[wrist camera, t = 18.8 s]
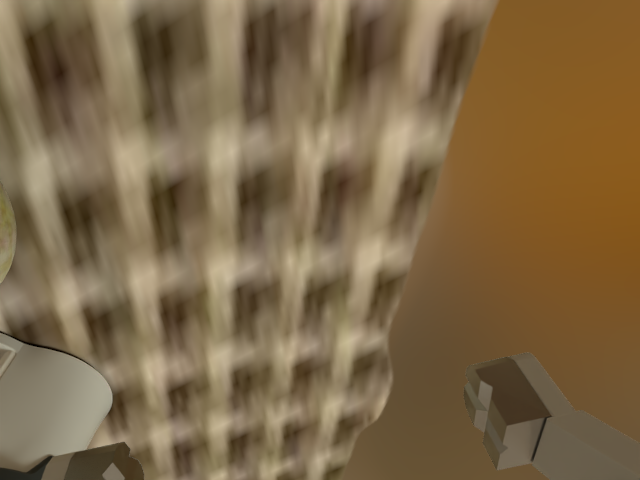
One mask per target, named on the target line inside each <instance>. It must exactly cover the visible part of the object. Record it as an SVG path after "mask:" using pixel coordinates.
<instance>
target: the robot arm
mask: <svg viewBox="0 0 640 480" xmlns="http://www.w3.org/2000/svg"><path fill="white" fill-rule="evenodd" d="M466 377H467V379H468V381H469V382H468V383H467V384H466V386H465V387H464V400H465V405H466V409H467V411H468V414H469V416H470V418H471V420H472V423H473V425H474V426H476V427H477V428H479V429H480V430H481V431H483V432H484V438H483V445H484V446H485V448H486V450H487V452H488V454H489V456H490V458H491V460H492V462H493V464H494V466H495V468H496V470H500V469H505V468H510V467H515V466H519V465H524V464H529V463H532V465H533V466H534V467H535V468H536V469H537V470H539V471H540V472H542V474H544V475H545V476H546V477H547V478H549V479H550V480H640V443H638V442H637V441H635V440H633V439H631V438H630V437H628V436H626V435H624V434H623V433H621V432H619V431H617V430H615V429H614V428H612V427H610V426H609V425H607V424H605V423H604V422H602V421H600V420H598V419H596V418H595V417H593V416H591V415H590V414H588V413H586V412H584V411H582V410H580V411H575V410H574V408H573V407H572V406H571V404H570V403H569V402H568V400H567V399H566V398H565V396H564V395H563V394H562V392H561V391H560V390H559V388H558V387H557V386H556V384H555V383H554V382H553V380H552V379H551V378H550V376H549V375H548V374H547V372H546V371H545V370H544V368H543V367H542V366H541V364H540V363H539V362H538V360H537V359H536V358H535V356H534V355H532V354H531V353H523V354H519V355H515V356H510V357H504V358H499V359H495V360H491V361H486V362H482V363H478V364H474V365H470V366H468V367H467V369H466ZM111 405H112V392H111V389H110V387H109V385H108V383H107V381H106V380H105V379H104V377H103V376H102V375H101V374H100V373H99V372H98V371H96V370H95V369H94V368H93V367H91V366H90V365H88V364H86V363H85V362H83V361H81V360H79V359H77V358H75V357H72V356H70V355H67V354H64V353H61V352H58V351H54V350H50V349H45V348H40V347H35V346H31V345H27V344H24V343H22V342H20V341H18V340H16V339H14V338H11V337H9V336H7V335H5V334H2V333H0V480H144V472H143V469H142V466H141V464H140V462H139V461H138V460H137V459H135V458H132V457H129V454H130V448H129V447H128V446H127V444H126V443H125V442H121V443H116V444H111V445H107V446H102V447H97V448H92V449H88V450H86V449H87V447H88V445H89V443H90V441H91V439H92V437H93V436H94V434H95V432H96V430H97V429H98V427H99V425H100V424H101V422H102V421H103V419H104V418H105V416H106V415H107V414H108V412H109V410H110V408H111Z"/></svg>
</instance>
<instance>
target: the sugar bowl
mask: <svg viewBox="0 0 640 480" xmlns="http://www.w3.org/2000/svg"><path fill="white" fill-rule="evenodd" d="M15 247H16V223H15V217H14V212H13V209H12V206H11V203H10V200H9V197H8V194H7V193H6V191H5V189H4V187H3V185H2V183H1V181H0V284H1V282H2V281H3V279H4V278H5V276H6V274H7V273H8V271H9V269H10V267H11V263H12V260H13V257H14V254H15Z"/></svg>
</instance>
